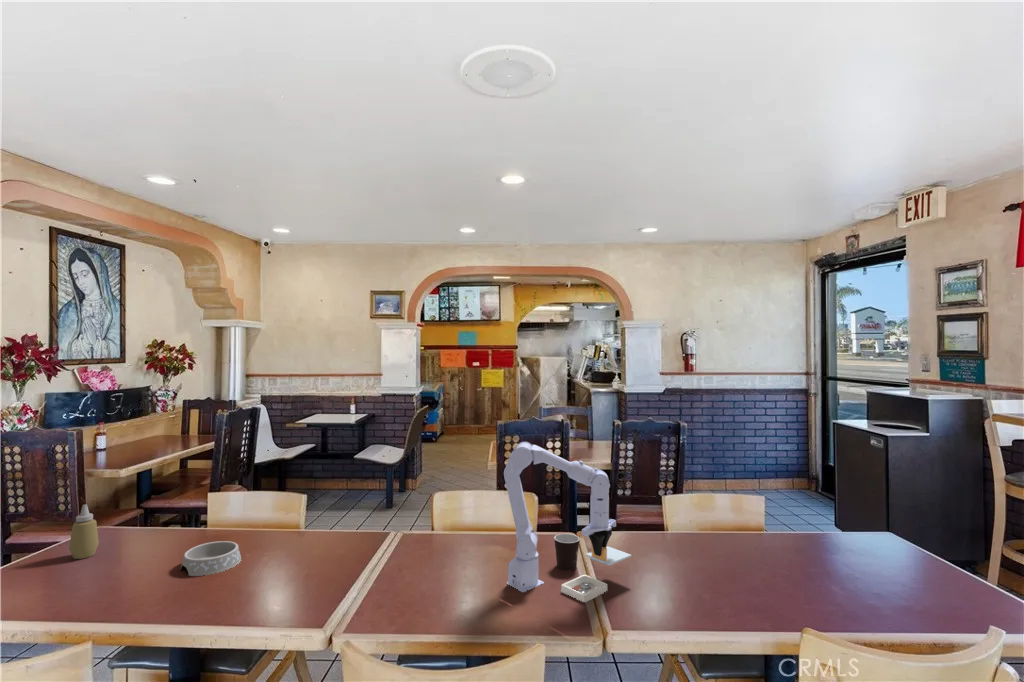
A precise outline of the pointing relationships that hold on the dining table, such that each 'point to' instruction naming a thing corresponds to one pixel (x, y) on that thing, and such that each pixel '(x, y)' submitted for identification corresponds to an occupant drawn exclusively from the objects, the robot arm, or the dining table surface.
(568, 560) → the coffee mug
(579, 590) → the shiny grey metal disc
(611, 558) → the lid
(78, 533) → the squeeze bottle
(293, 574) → the dining table surface
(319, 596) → the dining table surface
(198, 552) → the dog bowl
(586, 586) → the grey shiny rounded part
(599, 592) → the tub
